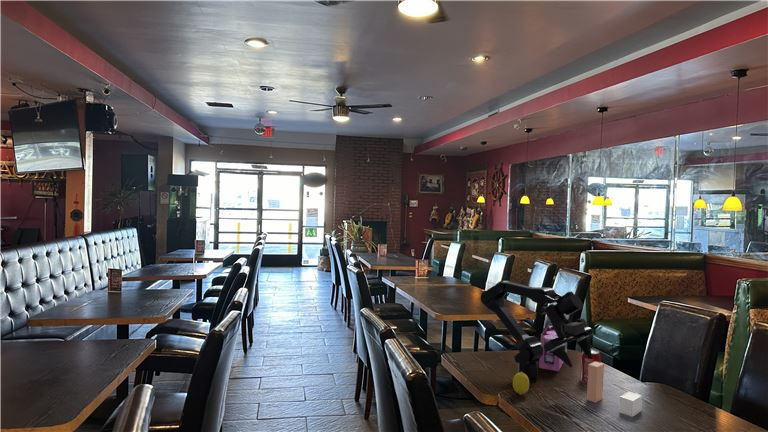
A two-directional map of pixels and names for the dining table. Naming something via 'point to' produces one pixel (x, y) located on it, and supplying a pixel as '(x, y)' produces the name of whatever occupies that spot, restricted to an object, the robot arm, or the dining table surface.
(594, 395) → the stub
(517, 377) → the lemon
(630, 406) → the white long block
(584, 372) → the soda can
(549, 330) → the gum box
